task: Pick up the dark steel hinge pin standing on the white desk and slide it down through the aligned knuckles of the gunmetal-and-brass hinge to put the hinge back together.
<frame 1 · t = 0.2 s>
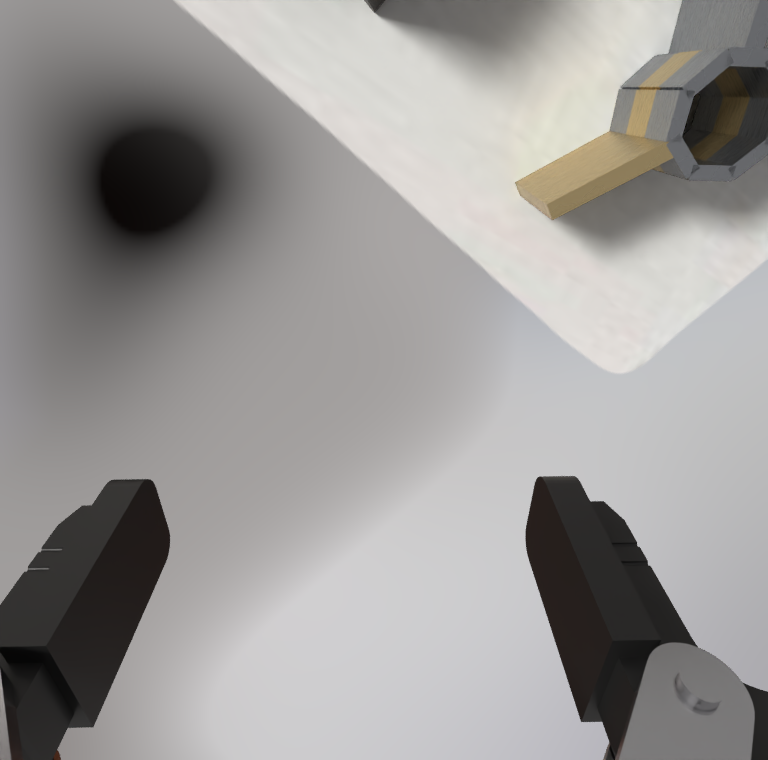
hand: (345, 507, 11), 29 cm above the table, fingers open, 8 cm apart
hinge: (660, 111, 33), on the table
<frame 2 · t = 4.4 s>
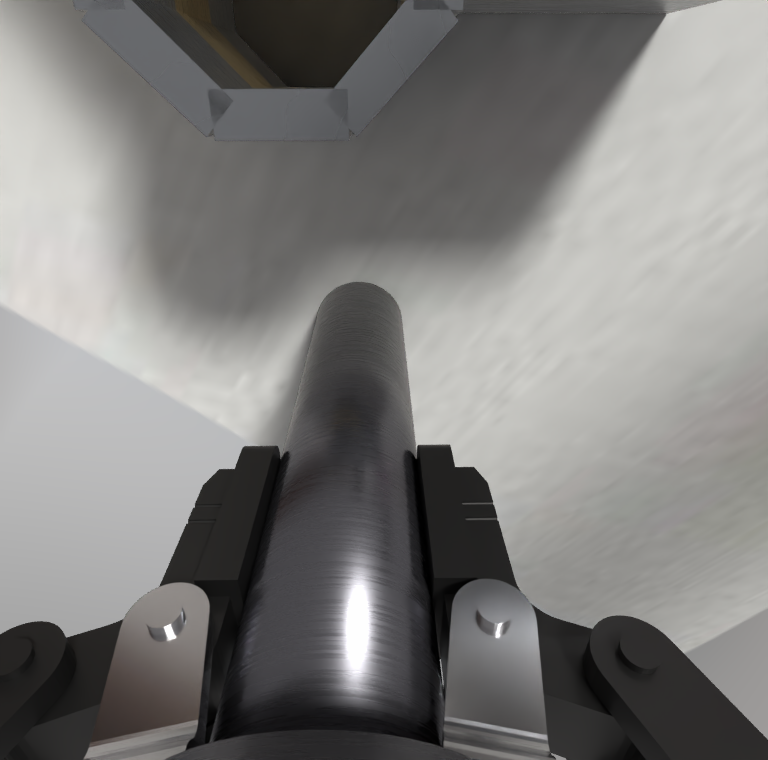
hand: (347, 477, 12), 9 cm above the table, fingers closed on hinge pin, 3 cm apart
hinge pin: (359, 322, 19), on the table, touching gripper
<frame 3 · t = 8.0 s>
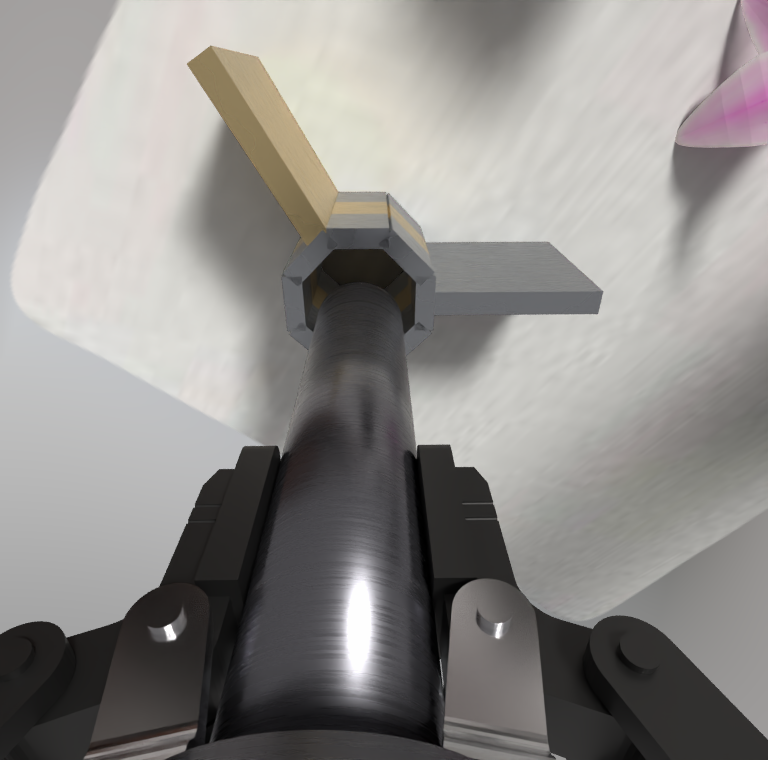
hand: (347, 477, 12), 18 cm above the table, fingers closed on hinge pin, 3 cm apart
hinge: (363, 252, 27), on the table
hinge pin: (359, 322, 19), point 9 cm above the table, touching gripper
when the fingers open (9 cm above the table, at t = 11.8 s): hinge pin stays where it is, resting in hinge.
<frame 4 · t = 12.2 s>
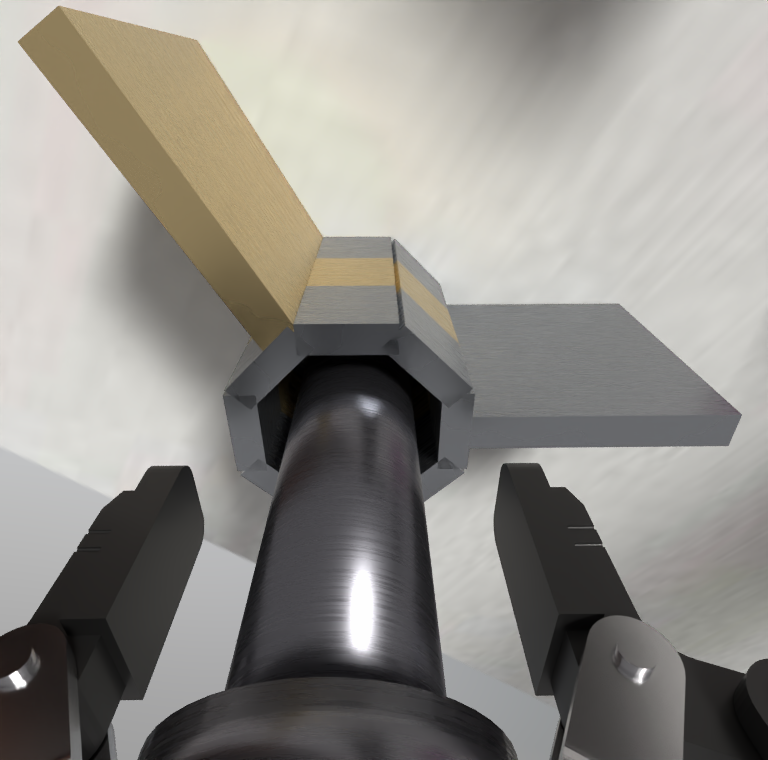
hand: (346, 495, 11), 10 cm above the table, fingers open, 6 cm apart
hinge: (359, 317, 19), on the table
hinge pin: (360, 316, 19), resting in hinge
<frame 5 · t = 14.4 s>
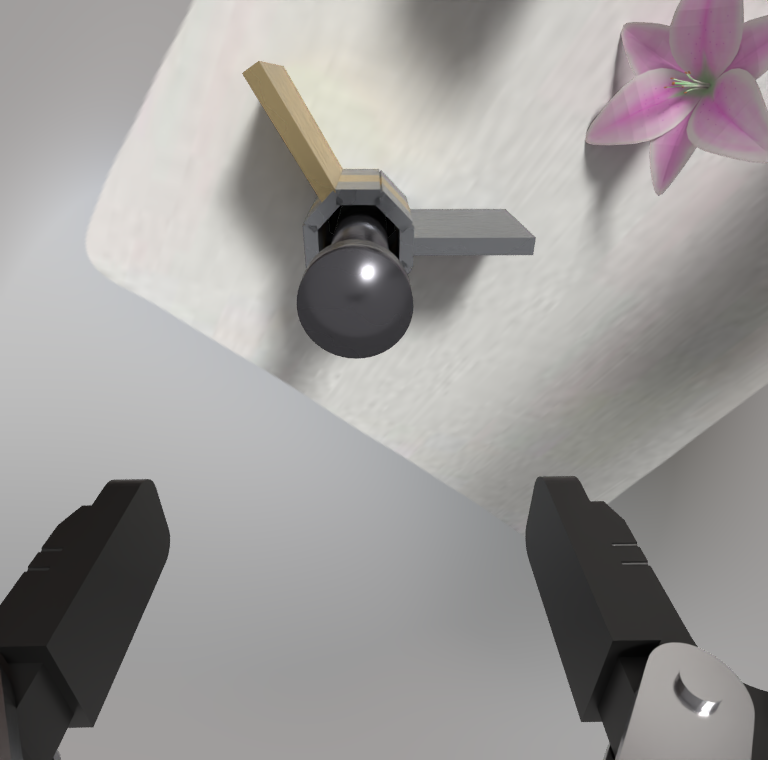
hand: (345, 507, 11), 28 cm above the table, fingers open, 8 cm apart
lily: (654, 82, 31), on the table
hinge: (361, 217, 35), on the table
hinge pin: (362, 216, 35), resting in hinge
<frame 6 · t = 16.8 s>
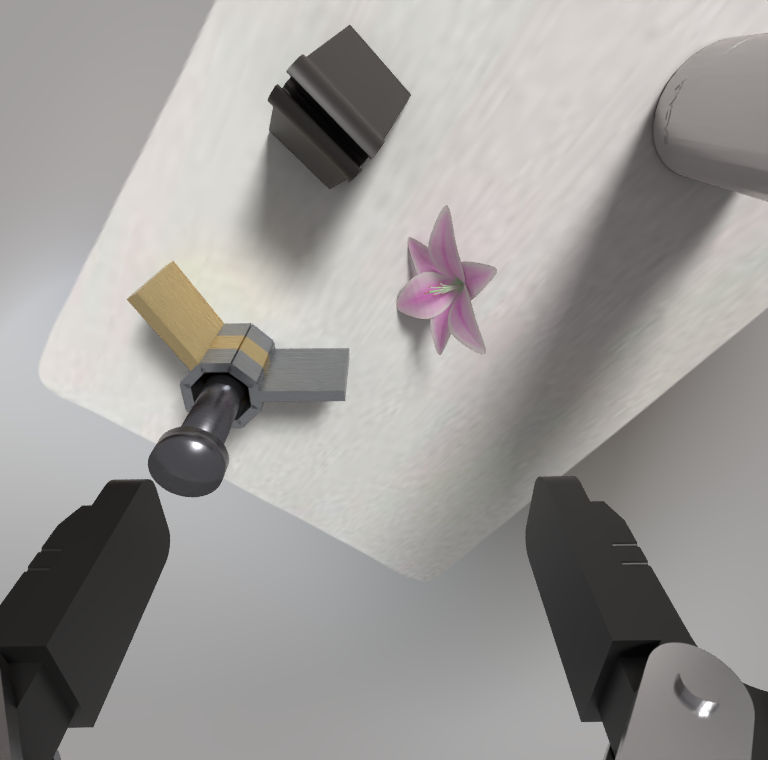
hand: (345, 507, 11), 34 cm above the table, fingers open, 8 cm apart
phone stand: (339, 112, 37), on the table
lily: (439, 270, 43), on the table
hinge: (242, 353, 47), on the table
hinge pin: (243, 353, 47), resting in hinge
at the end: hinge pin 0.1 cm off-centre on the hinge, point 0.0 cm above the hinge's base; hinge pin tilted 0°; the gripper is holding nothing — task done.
